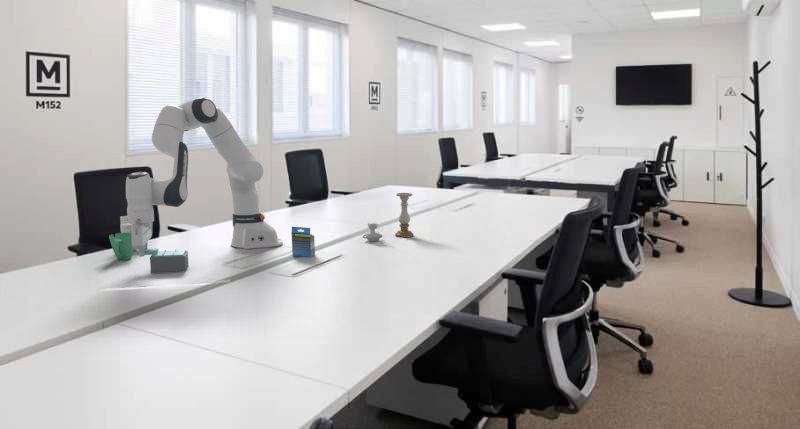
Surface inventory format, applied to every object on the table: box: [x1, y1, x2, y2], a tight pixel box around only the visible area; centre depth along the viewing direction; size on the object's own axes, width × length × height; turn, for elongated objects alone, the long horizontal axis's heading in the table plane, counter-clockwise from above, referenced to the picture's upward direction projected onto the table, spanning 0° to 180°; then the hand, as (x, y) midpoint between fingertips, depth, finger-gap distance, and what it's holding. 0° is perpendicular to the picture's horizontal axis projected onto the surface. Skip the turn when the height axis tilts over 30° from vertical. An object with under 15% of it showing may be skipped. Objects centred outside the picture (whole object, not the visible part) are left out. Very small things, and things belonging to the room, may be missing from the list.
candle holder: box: [394, 192, 414, 238], centre depth 297 cm, size 9×9×20 cm
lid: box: [136, 248, 187, 257], centre depth 229 cm, size 16×8×3 cm, turn 102°
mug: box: [108, 232, 134, 262], centre depth 247 cm, size 15×10×10 cm
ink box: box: [119, 215, 138, 252], centre depth 266 cm, size 8×5×15 cm, turn 123°
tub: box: [149, 250, 189, 274], centre depth 230 cm, size 12×9×7 cm
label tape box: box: [291, 226, 316, 258], centre depth 256 cm, size 9×4×12 cm, turn 71°
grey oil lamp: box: [362, 222, 383, 243], centre depth 285 cm, size 9×7×8 cm
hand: (143, 254), depth 228 cm, fingers closed on lid, 3 cm apart
